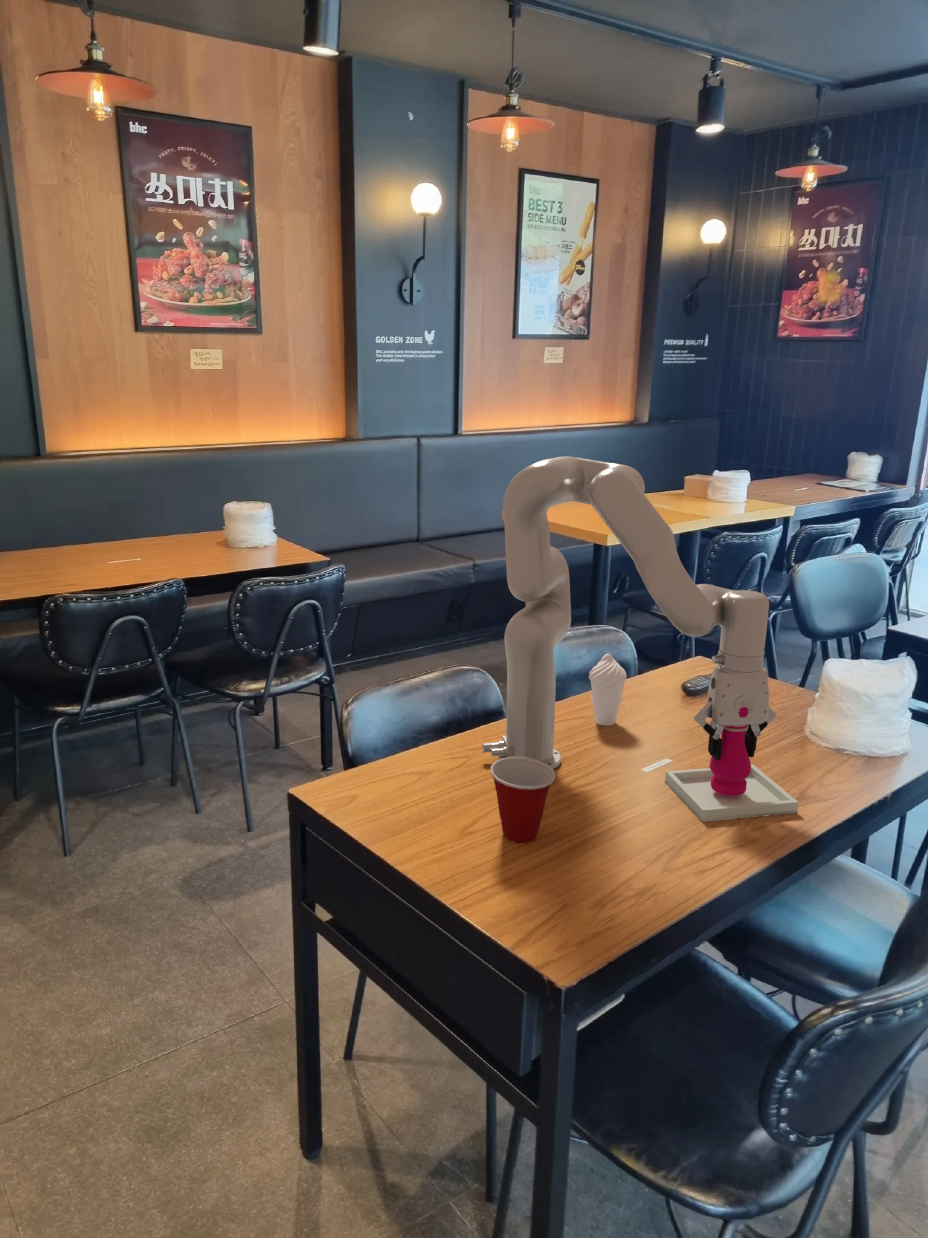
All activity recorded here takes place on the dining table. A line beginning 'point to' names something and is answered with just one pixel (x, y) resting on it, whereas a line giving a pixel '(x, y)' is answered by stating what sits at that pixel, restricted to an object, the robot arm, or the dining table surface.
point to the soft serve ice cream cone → (607, 689)
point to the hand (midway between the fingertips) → (731, 754)
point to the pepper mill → (732, 761)
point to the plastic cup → (521, 795)
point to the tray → (715, 806)
